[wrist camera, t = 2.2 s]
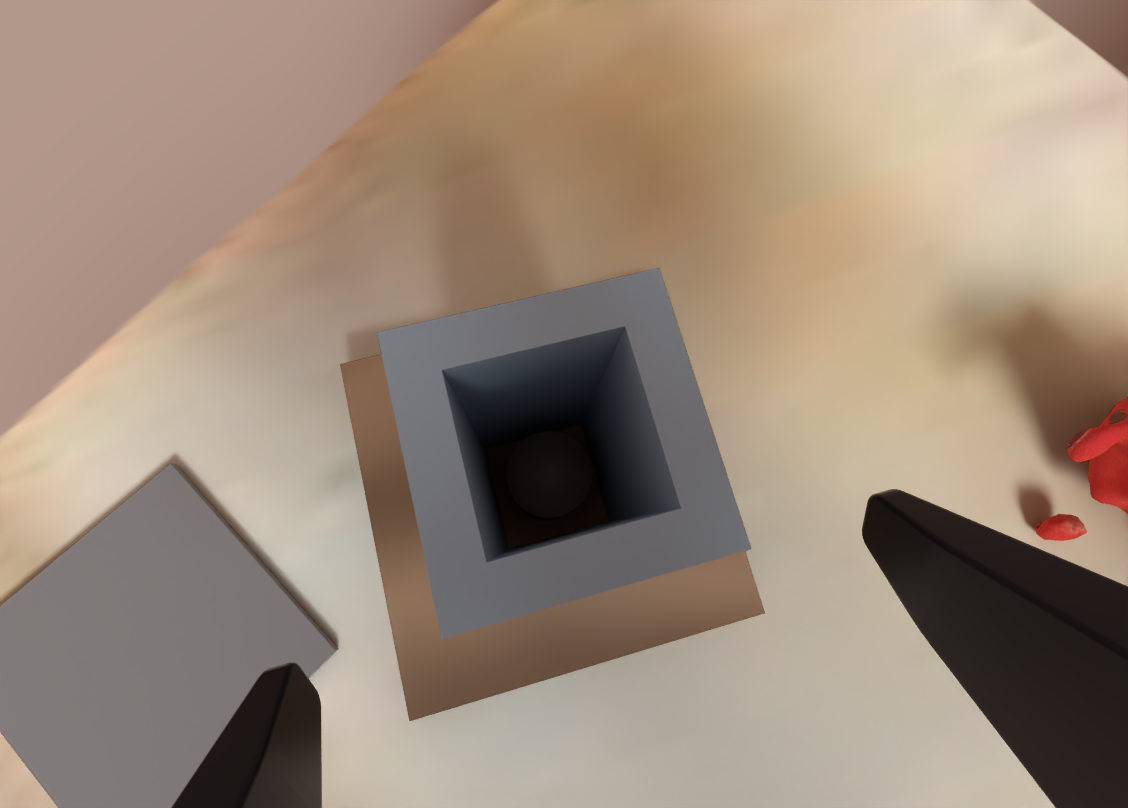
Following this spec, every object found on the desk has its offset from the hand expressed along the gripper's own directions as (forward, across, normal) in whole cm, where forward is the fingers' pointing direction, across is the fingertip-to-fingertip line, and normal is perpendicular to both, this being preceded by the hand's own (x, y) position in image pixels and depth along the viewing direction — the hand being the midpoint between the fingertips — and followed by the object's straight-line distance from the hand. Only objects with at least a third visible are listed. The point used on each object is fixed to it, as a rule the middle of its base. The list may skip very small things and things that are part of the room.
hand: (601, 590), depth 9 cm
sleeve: (+8, 0, +5) cm, 10 cm away
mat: (+8, +13, +7) cm, 16 cm away
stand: (+9, 0, +6) cm, 10 cm away
